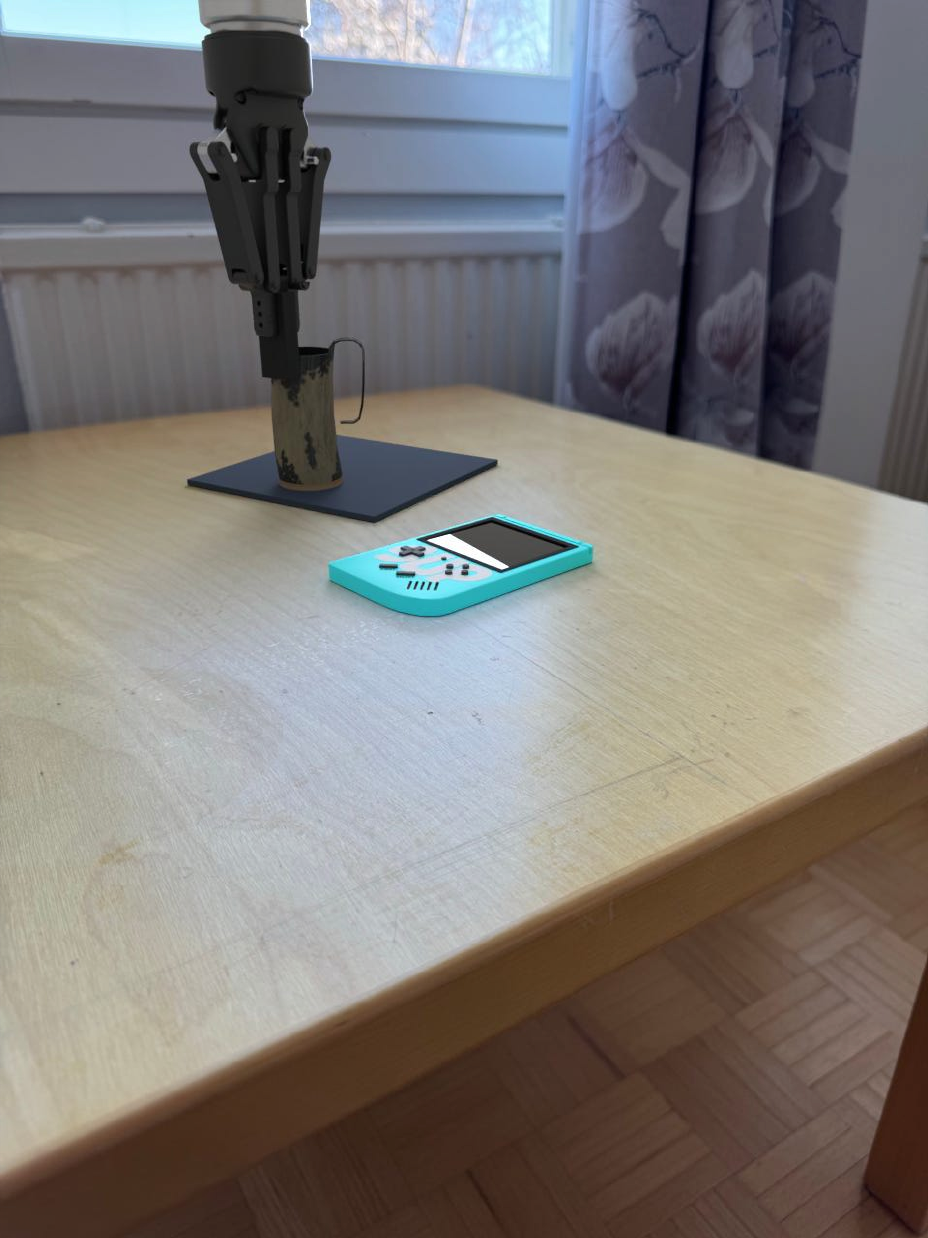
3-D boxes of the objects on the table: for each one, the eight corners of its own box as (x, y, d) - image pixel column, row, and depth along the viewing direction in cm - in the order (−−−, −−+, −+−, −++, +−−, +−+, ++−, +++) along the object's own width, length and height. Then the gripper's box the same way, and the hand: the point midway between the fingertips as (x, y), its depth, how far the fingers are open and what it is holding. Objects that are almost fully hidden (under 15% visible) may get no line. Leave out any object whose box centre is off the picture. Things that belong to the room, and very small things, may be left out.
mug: (274, 491, 80) (262, 344, 76) (279, 473, 85) (268, 334, 81) (369, 489, 81) (364, 343, 76) (368, 471, 86) (363, 333, 81)
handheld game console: (324, 577, 64) (323, 558, 64) (496, 526, 74) (496, 509, 74) (421, 624, 58) (420, 603, 57) (596, 560, 67) (597, 542, 67)
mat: (187, 484, 84) (186, 479, 84) (328, 437, 100) (328, 433, 100) (374, 522, 75) (374, 516, 75) (497, 464, 91) (497, 459, 90)
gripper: (276, 47, 74) (297, 361, 84) (145, 25, 64) (186, 385, 73) (355, 41, 70) (367, 369, 80) (230, 16, 60) (261, 395, 70)
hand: (281, 376), depth 77 cm, fingers closed
